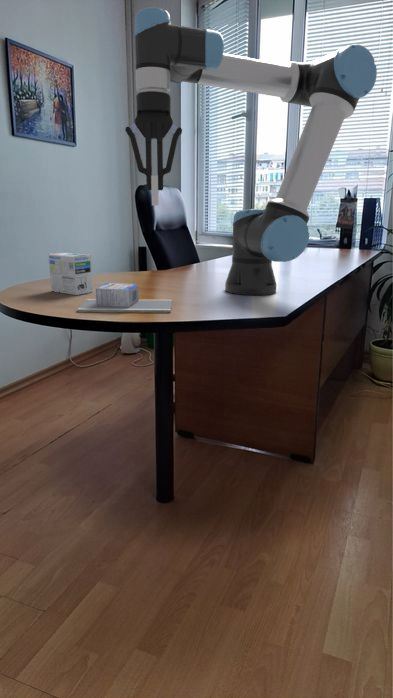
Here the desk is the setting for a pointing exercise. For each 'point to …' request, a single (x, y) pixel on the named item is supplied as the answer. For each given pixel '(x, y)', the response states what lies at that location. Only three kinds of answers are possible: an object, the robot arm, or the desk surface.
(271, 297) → the desk surface
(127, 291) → the medicine box
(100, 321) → the desk surface
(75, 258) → the light bulb box
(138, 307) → the mat
